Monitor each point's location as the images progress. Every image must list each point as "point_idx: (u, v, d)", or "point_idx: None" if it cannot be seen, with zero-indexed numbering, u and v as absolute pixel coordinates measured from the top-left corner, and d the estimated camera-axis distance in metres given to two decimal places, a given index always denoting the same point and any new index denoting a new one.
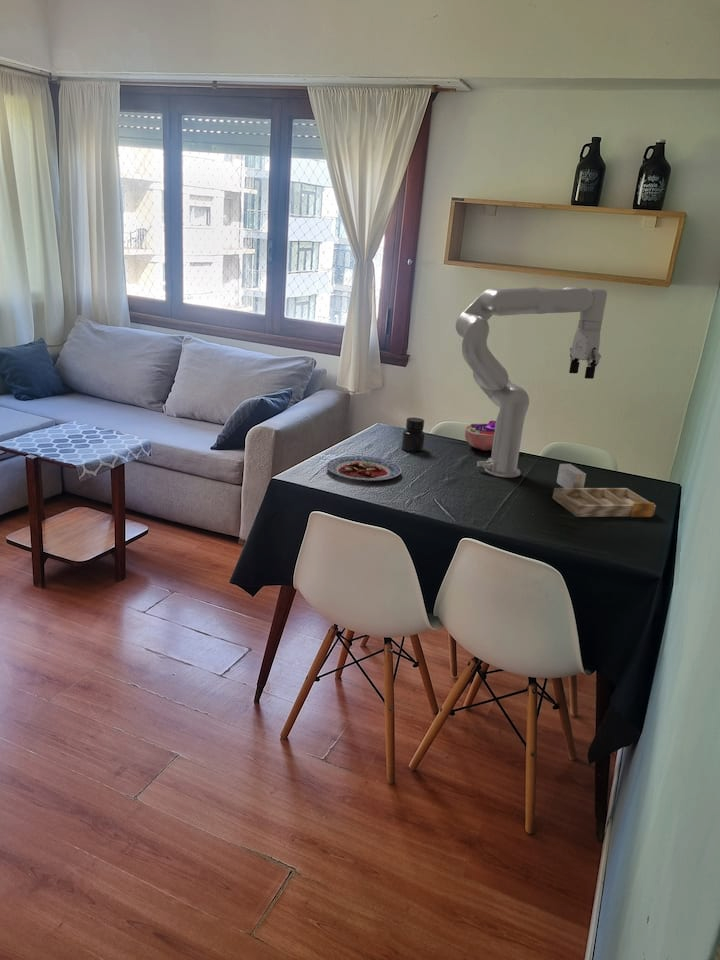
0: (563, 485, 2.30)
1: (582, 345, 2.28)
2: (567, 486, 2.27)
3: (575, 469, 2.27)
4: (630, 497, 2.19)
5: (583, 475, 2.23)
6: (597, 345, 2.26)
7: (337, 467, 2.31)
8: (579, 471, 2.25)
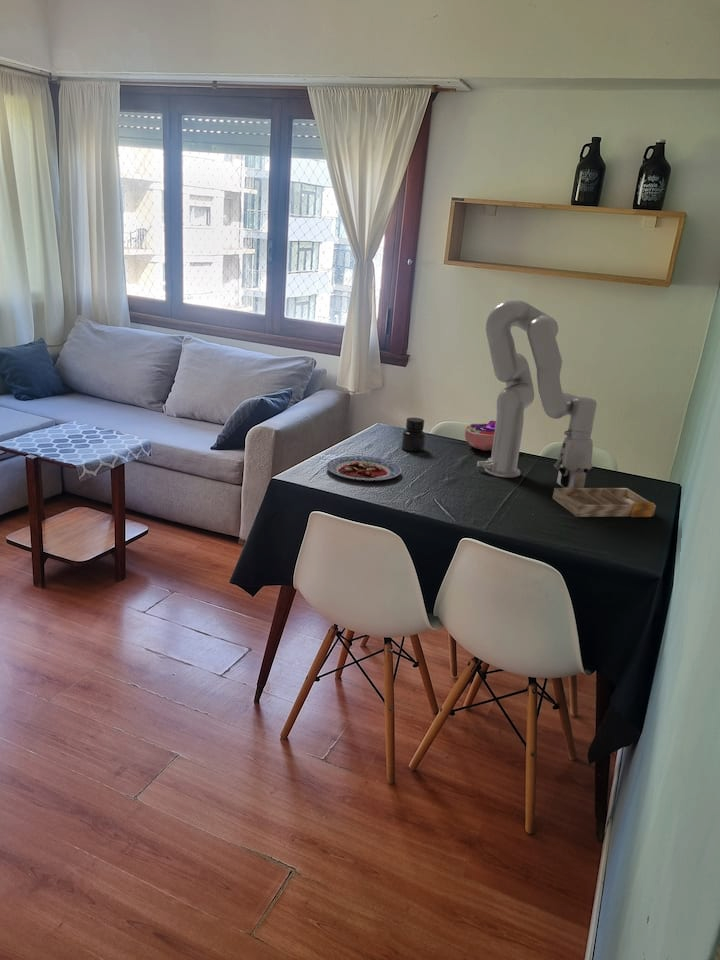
0: None
1: (585, 455, 2.24)
2: (567, 486, 2.27)
3: (575, 469, 2.27)
4: (630, 497, 2.19)
5: (583, 475, 2.23)
6: None
7: (337, 467, 2.31)
8: (579, 471, 2.25)
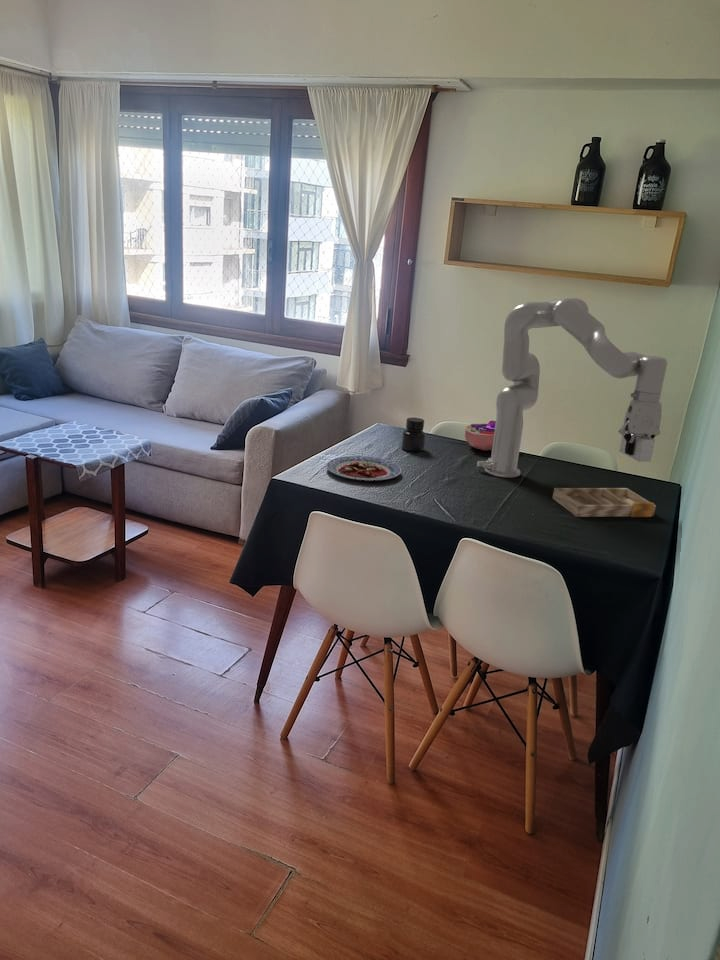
0: None
1: (653, 419, 2.05)
2: (633, 454, 2.08)
3: (642, 435, 2.08)
4: (630, 497, 2.19)
5: (652, 441, 2.04)
6: None
7: (337, 467, 2.31)
8: (647, 437, 2.06)
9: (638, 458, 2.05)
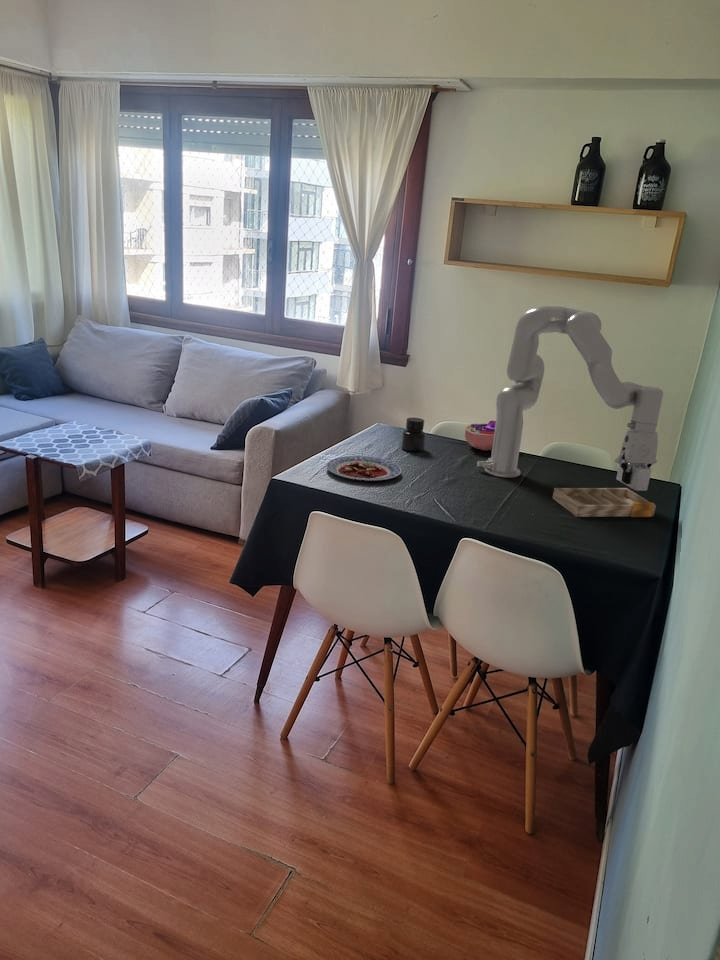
0: None
1: (649, 449, 2.07)
2: (630, 482, 2.10)
3: (638, 464, 2.10)
4: (630, 497, 2.19)
5: (648, 470, 2.06)
6: None
7: (337, 467, 2.31)
8: (643, 466, 2.08)
9: (635, 487, 2.08)
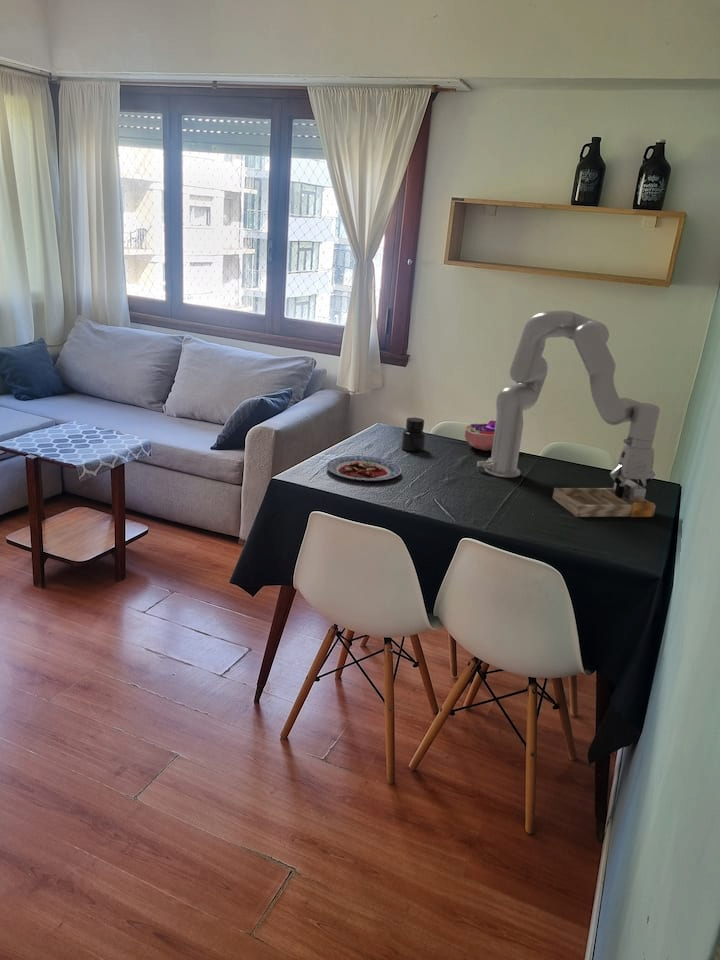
0: None
1: (645, 465, 2.09)
2: None
3: (633, 484, 2.13)
4: None
5: (643, 490, 2.08)
6: None
7: (337, 467, 2.31)
8: (638, 486, 2.11)
9: None
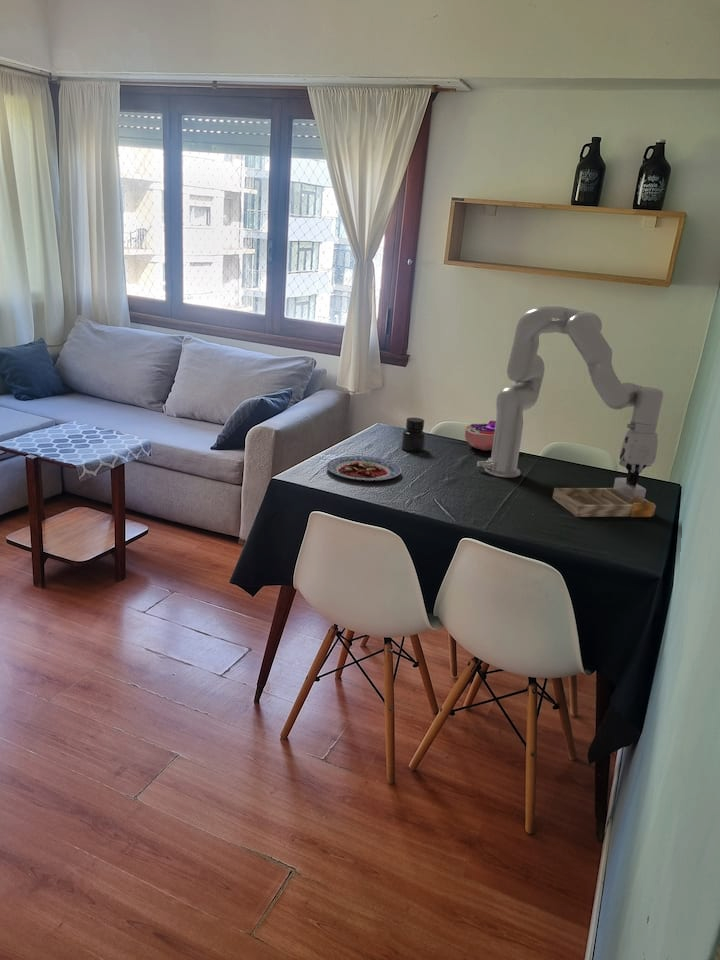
0: None
1: (649, 450, 2.07)
2: None
3: (633, 484, 2.13)
4: None
5: (643, 490, 2.08)
6: None
7: (337, 467, 2.30)
8: (638, 486, 2.11)
9: None
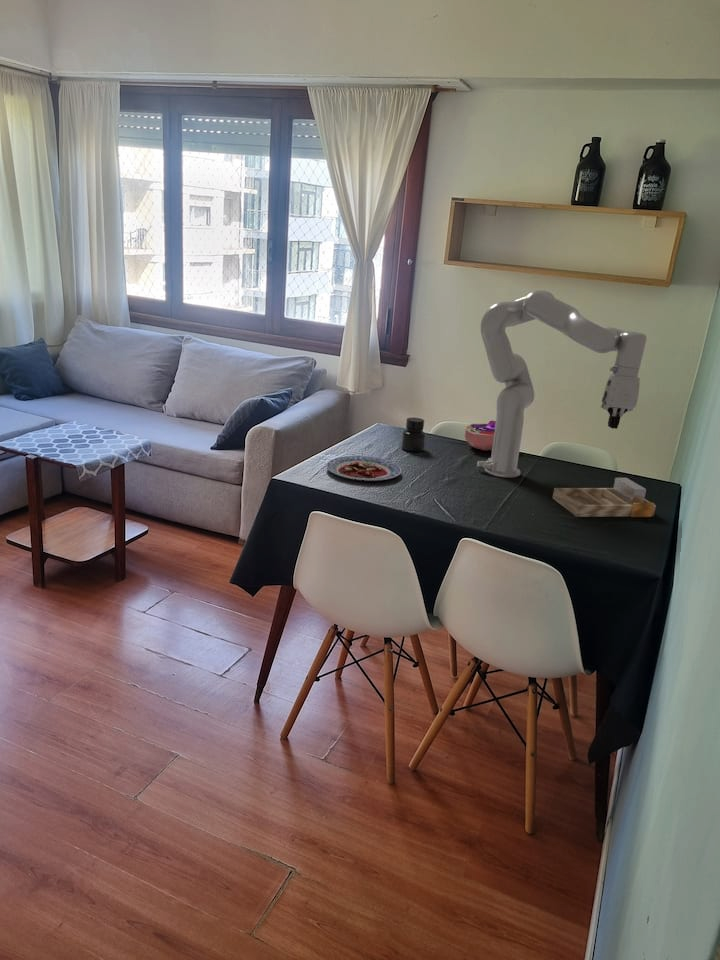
0: None
1: (631, 393, 2.12)
2: None
3: (633, 484, 2.13)
4: None
5: (643, 490, 2.08)
6: None
7: (337, 467, 2.30)
8: (638, 486, 2.11)
9: None
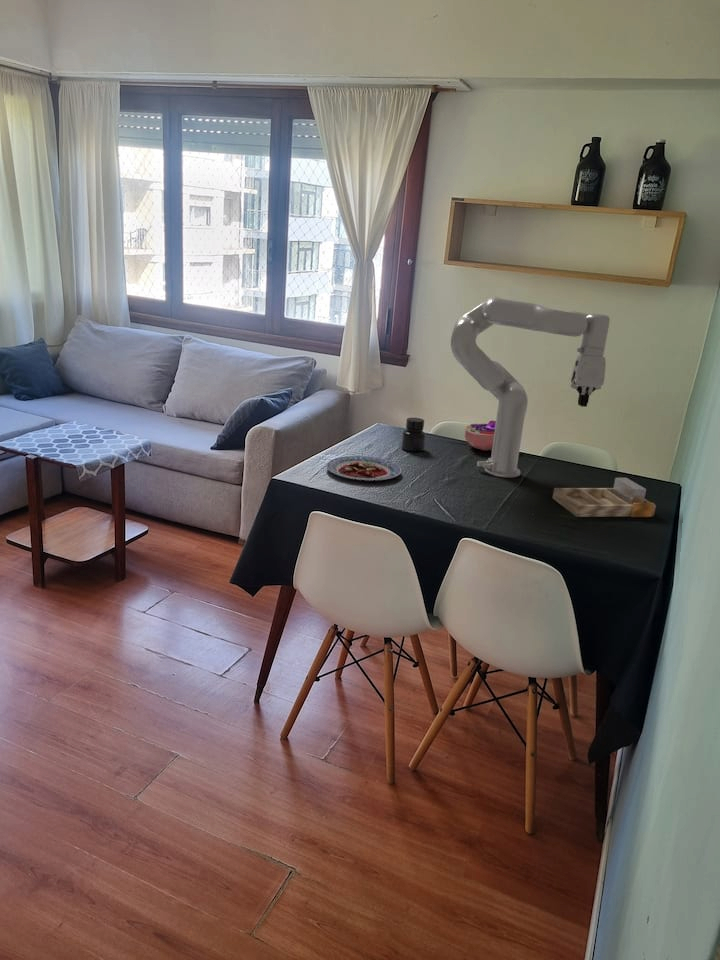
0: None
1: (597, 372, 2.24)
2: None
3: (633, 484, 2.13)
4: None
5: (643, 490, 2.08)
6: None
7: (337, 467, 2.30)
8: (638, 486, 2.11)
9: None
